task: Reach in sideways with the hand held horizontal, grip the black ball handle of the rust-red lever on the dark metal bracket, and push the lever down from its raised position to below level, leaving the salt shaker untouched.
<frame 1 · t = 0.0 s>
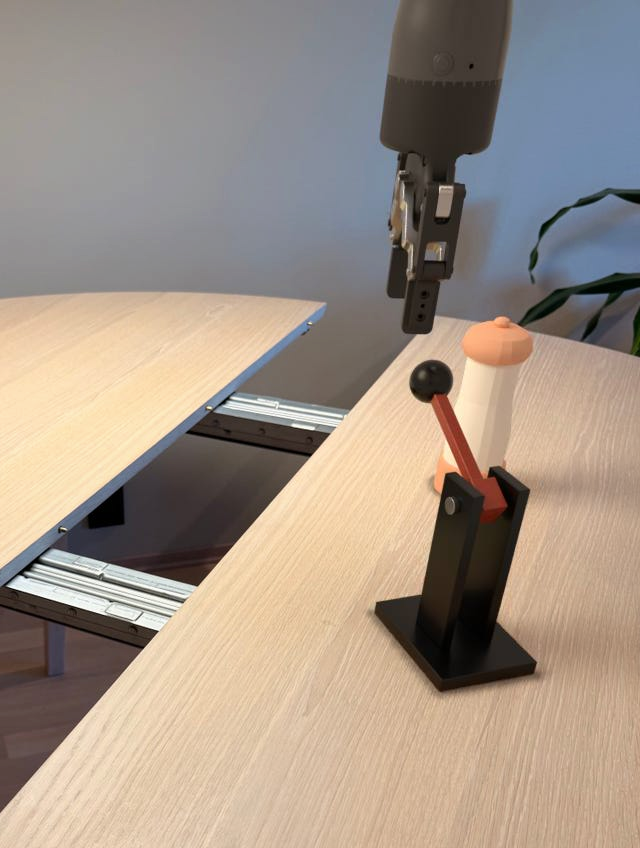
hand: (407, 314, 75), 27 cm above the table, tool pointing down, fingers open, 8 cm apart
lever: (455, 437, 81), point 17 cm above the table, hinge at 30.0°
salt shaker: (466, 489, 111), on the table
bracket: (450, 642, 87), on the table
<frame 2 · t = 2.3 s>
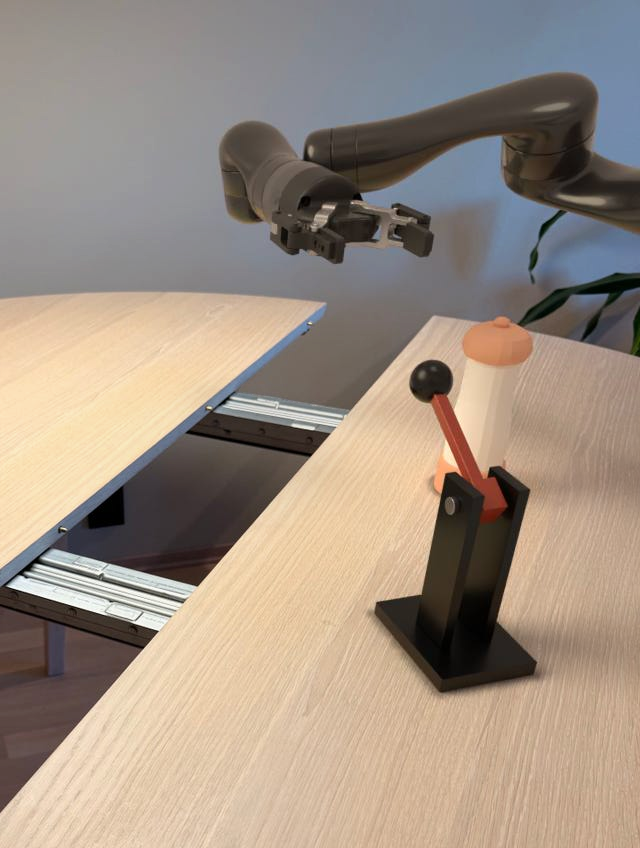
hand: (384, 249, 87), 28 cm above the table, tool horizontal, fingers open, 8 cm apart
nothing on the table moved.
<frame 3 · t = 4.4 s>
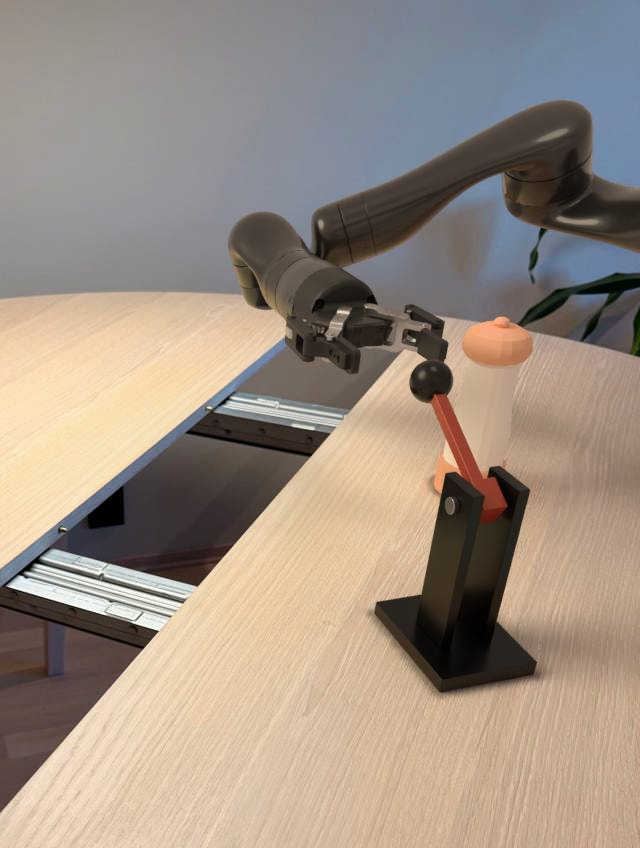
hand: (399, 359, 87), 20 cm above the table, tool horizontal, fingers open, 8 cm apart
nothing on the table moved.
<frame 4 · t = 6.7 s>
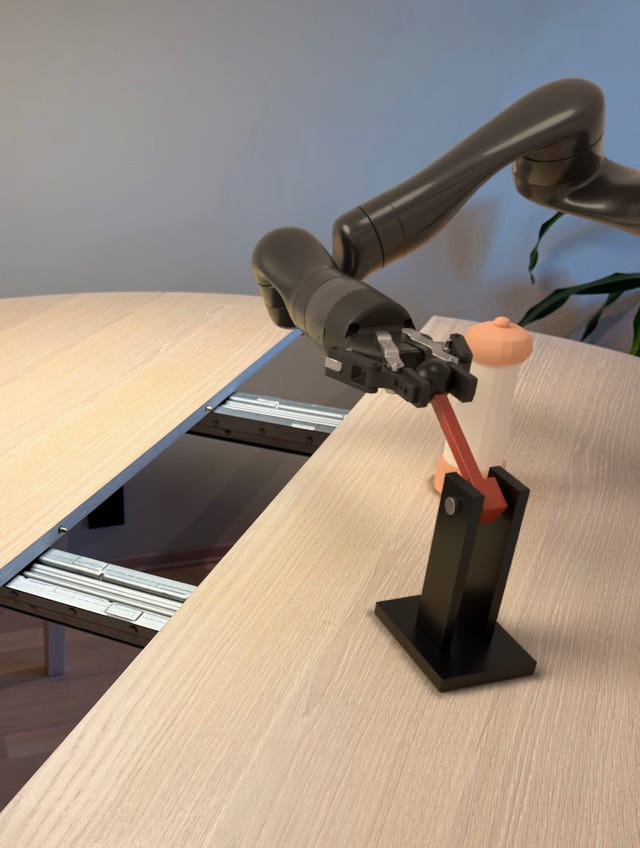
hand: (447, 394, 81), 20 cm above the table, tool horizontal, fingers closed on lever, 3 cm apart
lever: (455, 437, 81), point 17 cm above the table, hinge at 30.0°, touching gripper
everything else where it was.
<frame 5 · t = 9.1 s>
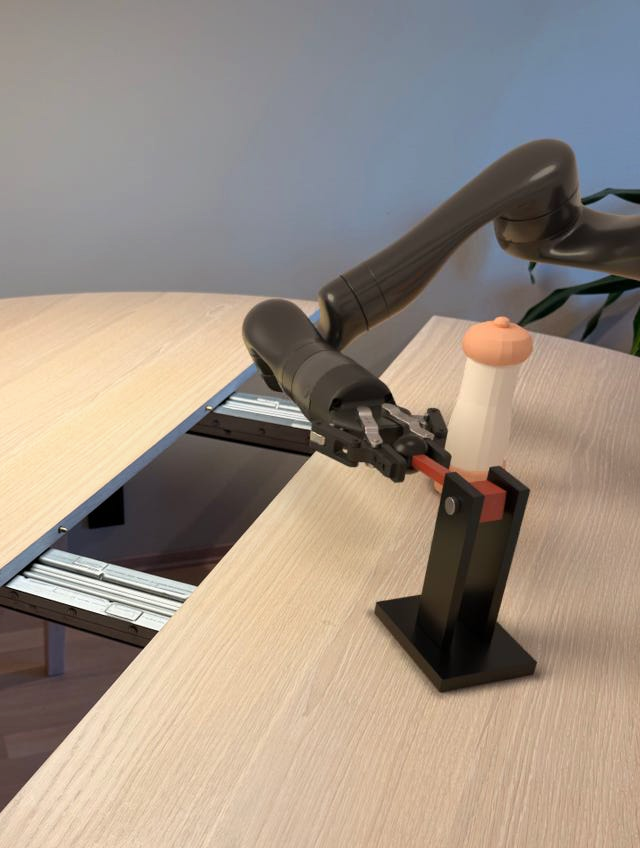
hand: (422, 469, 86), 12 cm above the table, tool horizontal, fingers closed on lever, 3 cm apart
lever: (442, 475, 84), point 13 cm above the table, hinge at -6.7°, touching gripper
everything else where it was.
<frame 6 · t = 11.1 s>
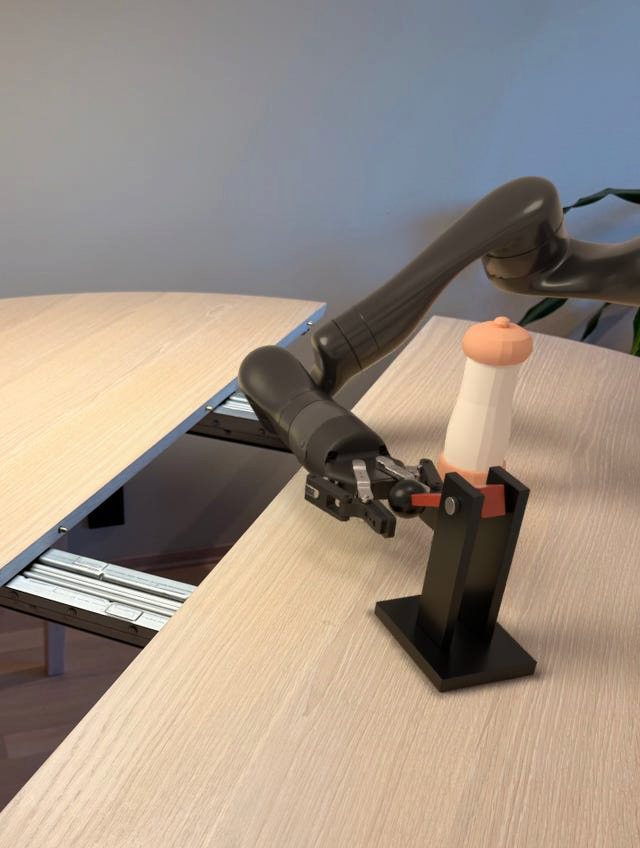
hand: (415, 525, 89), 7 cm above the table, tool horizontal, fingers open, 4 cm apart
lever: (441, 500, 84), point 11 cm above the table, hinge at -26.3°
everything else where it was.
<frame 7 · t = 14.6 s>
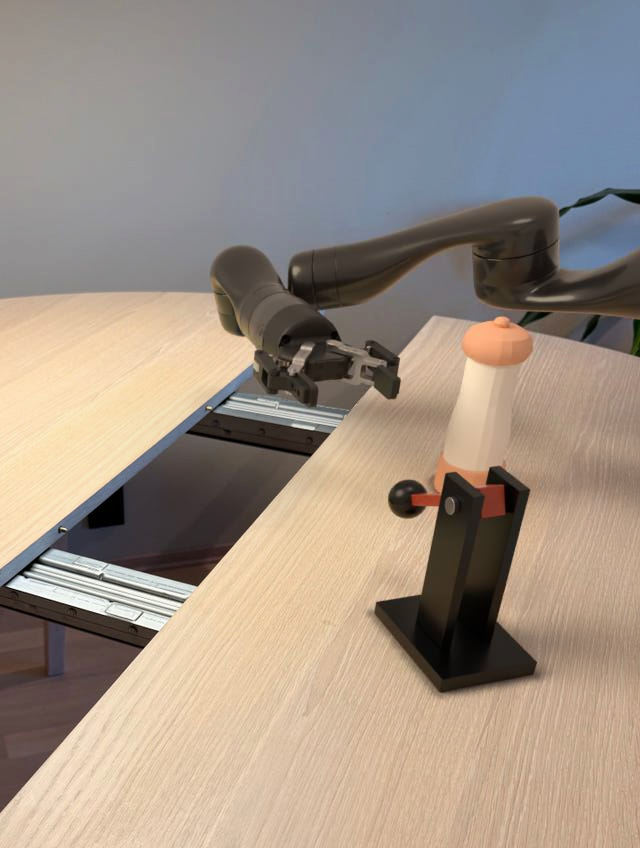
hand: (354, 394, 95), 14 cm above the table, tool horizontal, fingers open, 8 cm apart
nothing on the table moved.
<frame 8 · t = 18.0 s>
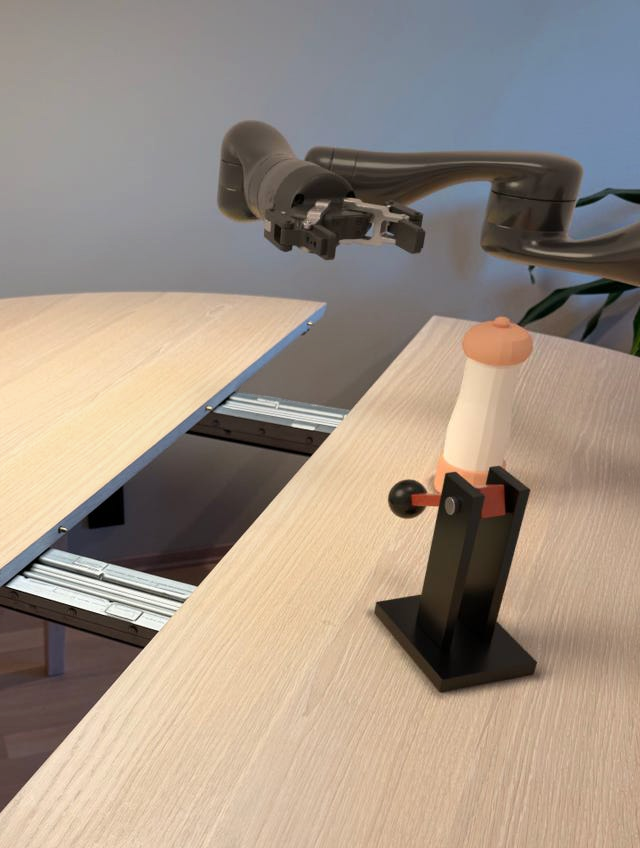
hand: (376, 245, 88), 28 cm above the table, tool horizontal, fingers open, 8 cm apart
nothing on the table moved.
at the end: lever at -26° (first picture: +30°); salt shaker moved 0.2 cm from its start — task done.
